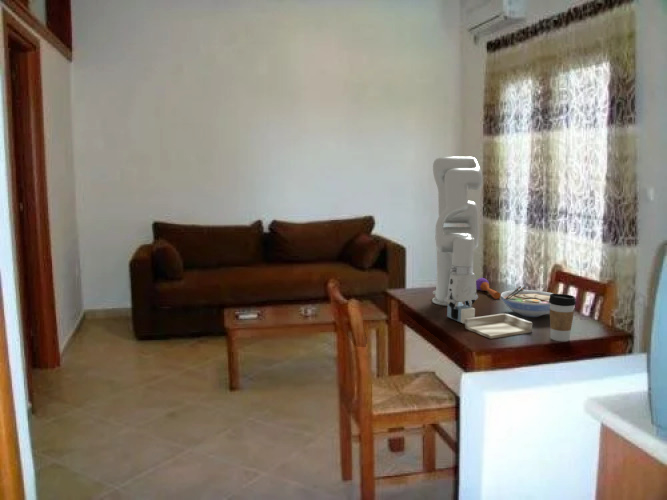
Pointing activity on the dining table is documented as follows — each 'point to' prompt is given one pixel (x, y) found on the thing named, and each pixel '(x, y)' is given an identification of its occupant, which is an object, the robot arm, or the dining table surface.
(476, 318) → the beige tray
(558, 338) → the coffee cup
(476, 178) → the robot arm
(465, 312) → the light blue white block
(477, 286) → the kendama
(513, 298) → the ramen bowl
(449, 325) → the dining table surface
